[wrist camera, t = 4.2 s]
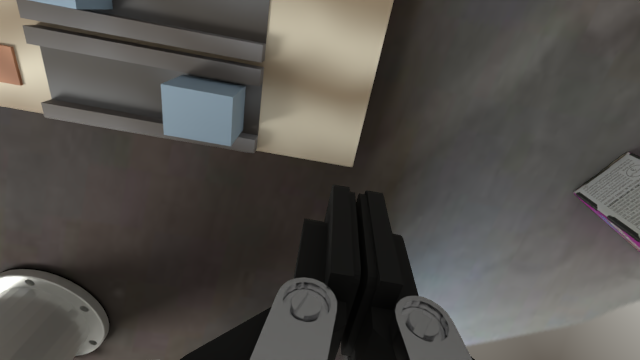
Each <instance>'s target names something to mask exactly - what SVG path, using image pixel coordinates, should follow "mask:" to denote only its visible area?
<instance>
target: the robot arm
mask: <svg viewBox="0 0 640 360" xmlns="http://www.w3.org/2000/svg"><path fill="white" fill-rule="evenodd" d="M108 332H109V321H108V317H107V315H106V313H105V311H104V309H103V308H102V306H101V305H100V304H99V302H98V301H97V300H96V299H95V298H94V297H93V296H92V295H91V294H90V293H88V292H87V291H86V290H84V289H83V288H81V287H80V286H78V285H76V284H75V283H73V282H71V281H69V280H67V279H65V278H62V277H60V276H58V275H54V274H51V273H48V272H44V271H38V270H32V269H15V270H8V271H5V272H2V273H0V360H73V358H74V357H75V356H79V355H83V354H87V353H90V352H92V351H94V350H95V349H97V348H98V347H99V346H100V345H101V343H102V342H103V341H104V339H105V338H106V336H107V334H108ZM340 342H341V353H342V355H346V356H348V360H474V359H473V358H472V357H471V356H470V354H469V352H468V350H467V348H466V346H465V344H464V342H463V340H462V338H461V336H460V334H459V332H458V331H457V329H456V327H455V325H454V323H453V321H452V319H451V318H450V316H449V315H448V313H447V312H446V311H445V310H444V309H443V308H442V307H441V306H439V305H438V304H436V303H435V302H433V301H431V300H429V299H427V298H424V297H420V296H418V292H417V288H416V285H415V281H414V277H413V273H412V270H411V266H410V262H409V259H408V255H407V251H406V247H405V244H404V240H403V238H402V236H401V235H396V234H392V231H391V226H390V222H389V218H388V213H387V209H386V204H385V200H384V196H383V194H382V193H377V192H372V191H365V194H359V195H358V198H357V202H356V200H355V193H353V192H350V189H349V187H344V186H338V185H333V186H332V190H331V195H330V199H329V204H328V208H327V213H326V217H325V221H324V222H321V221H315V220H310V219H304V224H303V229H302V235H301V240H300V246H299V252H298V257H297V263H296V269H295V275H294V279H292V280H289V281H288V282H286V283H285V284H284V285H282V287H281V288H280V290H279V291H278V293H277V295H276V298H275V300H274V303H273V305H272V307H270V308H269V309H267V310H265V311H263V312H261V313H260V314H258V315H256V316H254V317H253V318H251V319H249V320H247V321H246V322H244V323H242V324H240V325H239V326H237V327H235V328H233V329H231V330H230V331H228V332H226V333H224V334H223V335H221V336H219V337H217V338H216V339H214V340H212V341H210V342H208V343H207V344H205V345H203V346H201V347H200V348H198V349H196V350H194V351H193V352H191V353H189V354H187V355H186V356H184V357H183V358H182V359H180V360H335V357H336V354H337V351H338V348H339V345H340Z"/></svg>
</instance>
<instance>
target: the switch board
mask: <svg viewBox="0 0 640 360" xmlns="http://www.w3.org/2000/svg"><path fill="white" fill-rule="evenodd" d="M393 1H394V0H112V6H113V9H72V8H67V7H62V6H56V5H51V4H46V3H41V2H35V1H30V0H0V106H3V107H9V108H14V109H20V110H26V111H32V112H37V113H43V114H44V117H45V118H51V119H57V120H63V121H69V122H74V123H80V124H86V125H92V126H97V127H103V128H109V129H115V130H120V131H126V132H132V133H138V134H144V135H149V136H155V137H161V138H167V139H172V140H178V141H184V142H190V143H196V144H201V145H207V146H213V147H219V148H224V149H230V150H236V151H242V152H247V153H253V154H254V153H255V151H262V152H268V153H273V154H279V155H285V156H291V157H296V158H302V159H308V160H314V161H319V162H325V163H331V164H337V165H342V166H348V167H353V163H354V159H355V155H356V151H357V147H358V143H359V139H360V134H361V130H362V126H363V122H364V118H365V114H366V110H367V106H368V102H369V98H370V94H371V90H372V86H373V82H374V78H375V74H376V70H377V66H378V62H379V58H380V54H381V50H382V46H383V41H384V37H385V33H386V29H387V25H388V21H389V17H390V13H391V9H392V5H393ZM183 74H184V75H189V76H195V77H200V78H206V79H211V80H216V81H222V82H227V83H233V84H238V85H244V86H246V91H245V107H244V123H243V131H242V132H241V133H240V135H239V136H238V137H237V139H236V140H235V141H234V143H233V144H232V145H231V146H226V145H220V144H214V143H209V142H203V141H197V140H191V139H185V138H180V137H174V136H168V135H164V130H163V114H162V98H161V84H162V83H164V82H167V81H169V80H171V79H174V78H176V77H178V76H181V75H183Z"/></svg>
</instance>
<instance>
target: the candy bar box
mask: <svg viewBox="0 0 640 360" xmlns="http://www.w3.org/2000/svg"><path fill="white" fill-rule="evenodd" d="M574 194H575V195H576V196H577V197H578V198H579V199H580V200H581V201H582V202H583V203H585V204H586V205H587V206H588V207H589V208H590V209H591V210H592V211H594V212H595V213H596V214H597V215H598V216H599V217H600V218H601V219H603V220H604V221H605V222H606V223H607V224H608V225H609V226H611V227H612V228H613V229H614V230H615V231H616V232H617V233H619V234H620V235H621V236H622V237H623V238H624V239H625V240H627V241H628V242H629V243H630V244H631V245H632V246H633V247H635V248H636V249H637V250H638V251H639V252H640V157H639V156H637V155H635V154H633V153H630V152H627V153H626V154H624V155H622V156H621V157H619V158H618V159H616V160H615V161H614V162H612V163H611V164H610V165H609V166H607V167H606V168H605V169H604V170H602V171H601V172H600V173H599V174H597V175H596V176H595V177H593V178H592V179H590V180H589V181H588V182H586V183H585V184H583V185H582V186H581V187H580V188H578V189H577V190H576V191H574Z"/></svg>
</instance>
